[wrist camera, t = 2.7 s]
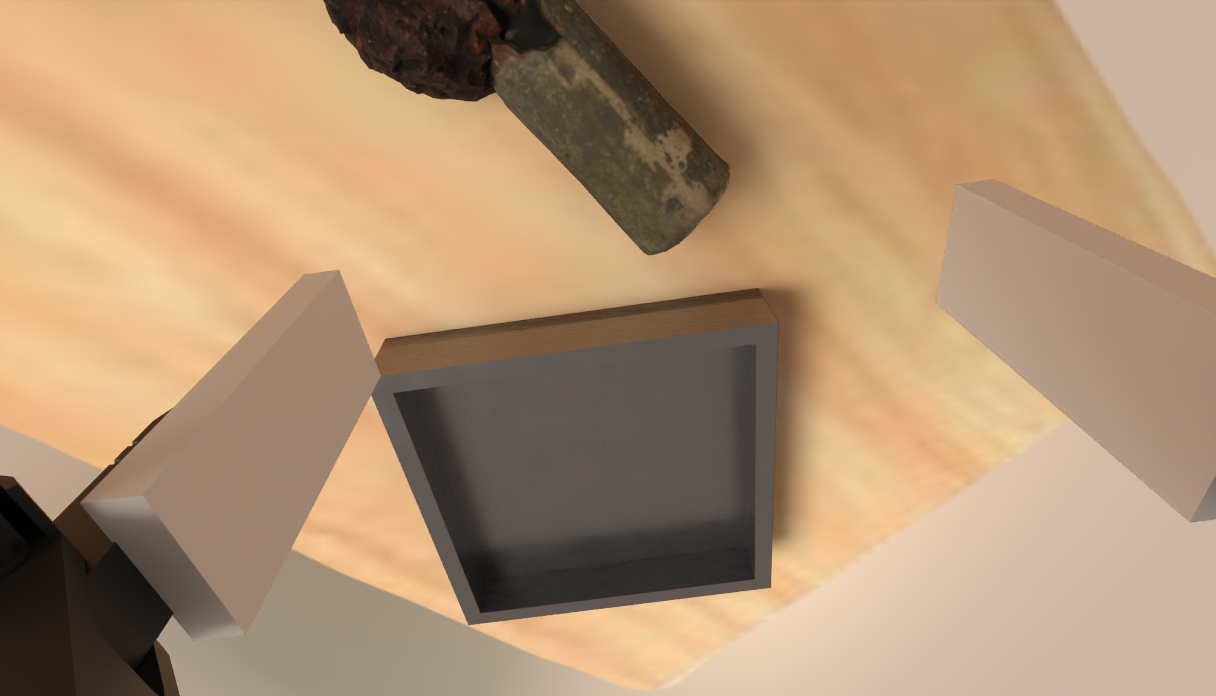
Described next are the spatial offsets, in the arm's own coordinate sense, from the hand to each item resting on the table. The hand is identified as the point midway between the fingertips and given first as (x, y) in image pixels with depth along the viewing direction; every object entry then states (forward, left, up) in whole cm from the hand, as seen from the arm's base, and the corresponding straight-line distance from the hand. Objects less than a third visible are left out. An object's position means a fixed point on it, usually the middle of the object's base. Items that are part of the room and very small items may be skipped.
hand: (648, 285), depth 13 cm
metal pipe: (0, +1, -17) cm, 17 cm away
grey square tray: (+18, -3, -15) cm, 23 cm away
